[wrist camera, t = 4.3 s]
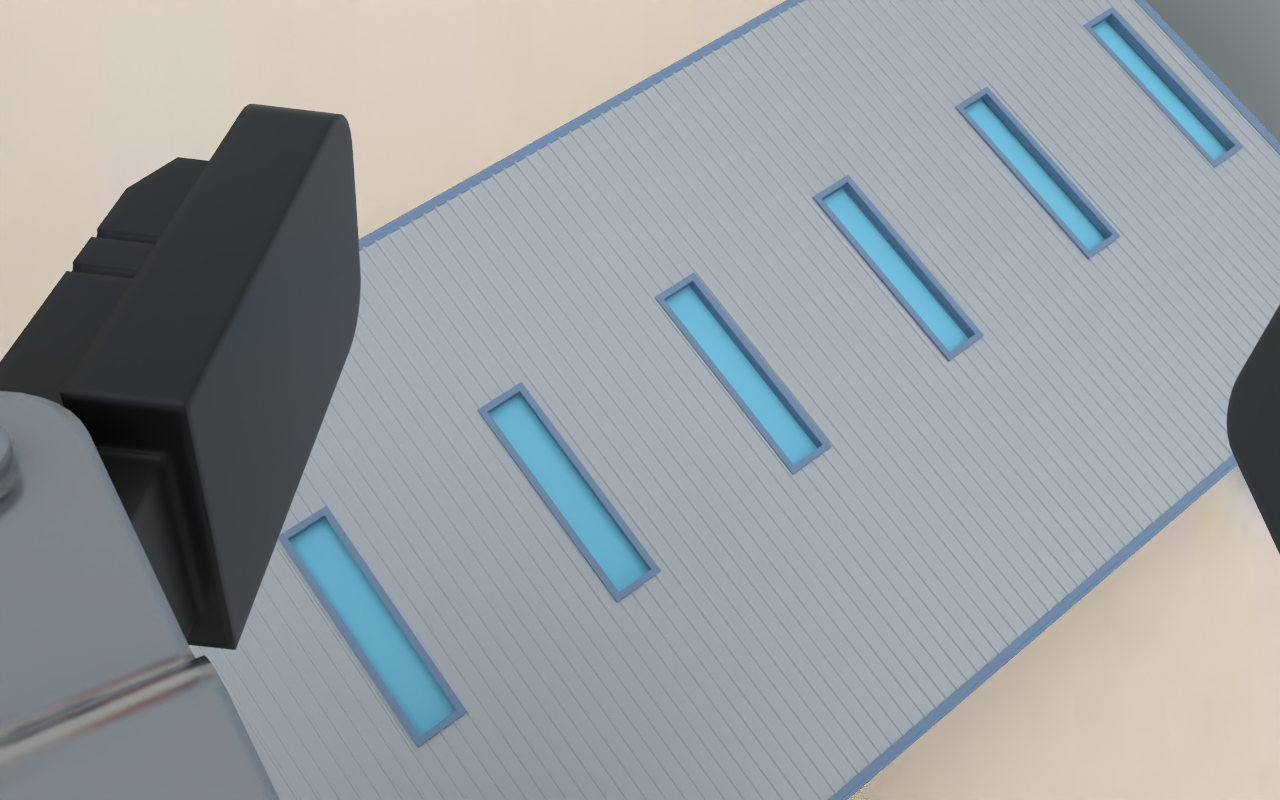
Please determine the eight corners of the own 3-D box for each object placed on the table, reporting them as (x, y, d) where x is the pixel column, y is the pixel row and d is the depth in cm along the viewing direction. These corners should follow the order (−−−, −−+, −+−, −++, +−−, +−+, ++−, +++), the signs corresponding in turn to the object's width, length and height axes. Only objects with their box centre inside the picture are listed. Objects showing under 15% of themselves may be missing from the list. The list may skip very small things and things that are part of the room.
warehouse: (922, -9, 36) (1063, -184, 28) (1208, 380, 35) (1429, 300, 27) (-41, 554, 26) (-195, 506, 19) (315, 1107, 25) (294, 1275, 18)
